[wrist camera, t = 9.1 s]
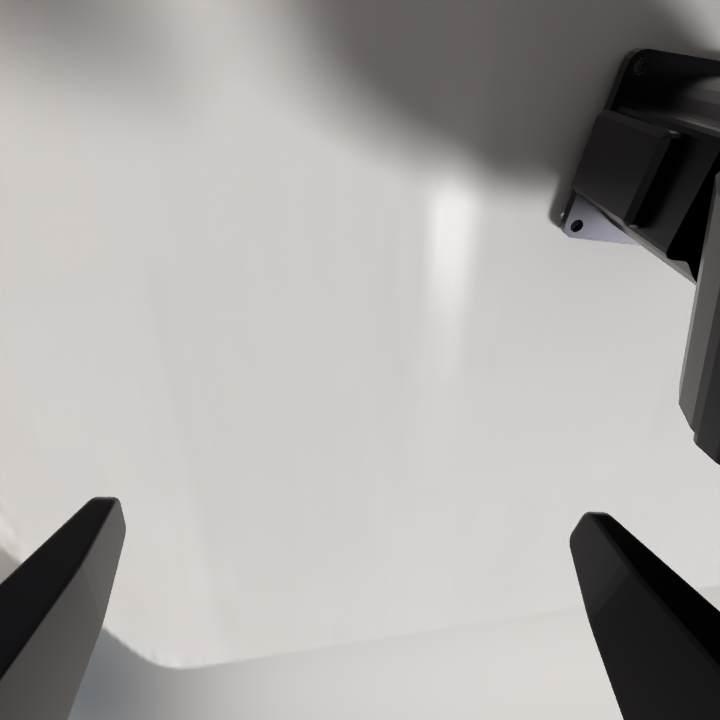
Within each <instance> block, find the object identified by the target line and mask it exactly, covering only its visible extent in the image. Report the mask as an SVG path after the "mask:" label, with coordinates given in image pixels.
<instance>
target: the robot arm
mask: <svg viewBox="0 0 720 720" xmlns="http://www.w3.org/2000/svg"><path fill="white" fill-rule="evenodd" d="M640 58H642V61H643V64H642V67H641V69H640V70H639V71H638V72H637V73H636V74H635V73H634V65H635V63H636V62H637V61H638V60H639V59H640ZM572 186H573V188H574V189H573V191H572V194H571V197H570V199H569V202H568V205H567V207H566V210H565V212H564V215H563V218H562V220H561V225H560V226H561V230H562V231H563V232H564V233H565V234H566V235H567V236H568V237H571V238H579V239H588V240H597V241H606V242H615V243H624V244H633V245H641V246H643V247H644V248H646V249H647V250H648V251H650V252H651V253H652V254H654V255H655V256H656V257H658V258H659V259H661V260H662V261H663V262H665V263H666V264H667V265H669V266H670V267H672V268H673V269H674V270H676V271H677V272H678V273H680V274H681V275H683V276H684V277H685V278H687V279H688V280H689V281H691V282H692V283H694V284H695V285H696V291H695V297H694V303H693V308H692V314H691V320H690V326H689V332H688V337H687V343H686V349H685V355H684V361H683V366H682V372H681V378H680V389H679V405H680V407H681V409H682V411H683V413H684V415H685V417H686V419H687V421H688V424H689V426H690V428H691V429H692V430H693V431H694V442H695V444H696V445H697V446H698V447H699V448H700V449H702V450H703V451H704V452H705V453H706V454H707V455H708V456H709V457H710V458H711V459H713V460H714V461H715V462H716V463H718V464H719V465H720V61H717V60H711V59H705V58H699V57H693V56H687V55H681V54H675V53H670V52H664V51H658V50H652V49H645V48H638V49H634V50H633V51H631V52H629V53H628V54H627V55H626V56H625V58H624V60H623V62H622V63H621V66H620V69H619V71H618V74H617V77H616V79H615V82H614V84H613V87H612V90H611V92H610V95H609V97H608V100H607V103H606V105H605V108H604V110H603V112H602V113H601V114H599V115H598V116H597V119H596V121H595V124H594V126H593V129H592V132H591V134H590V137H589V140H588V142H587V145H586V148H585V150H584V153H583V155H582V158H581V161H580V163H579V166H578V169H577V171H576V174H575V177H574V179H573V182H572ZM575 220H579V223H578V225H577V226H576V227H574V228H571V224H572V223H573V222H574V221H575ZM125 532H126V525H125V520H124V516H123V512H122V508H121V504H120V501H119V499H117V498H115V497H95V498H92V499H91V500H89V501H88V502H87V503H86V504H85V505H84V506H83V507H82V508H81V509H80V510H79V511H78V512H77V513H75V514H74V515H73V516H72V517H71V518H70V519H69V520H68V521H67V522H66V523H65V524H64V525H63V526H62V527H61V528H59V529H58V530H57V531H56V532H55V533H54V534H53V535H52V536H51V537H50V538H49V539H48V540H47V541H46V542H45V543H43V544H42V545H41V546H40V547H39V548H38V549H37V550H36V551H35V552H34V553H33V554H32V555H31V556H30V557H29V558H28V559H26V560H25V561H24V562H23V563H22V564H21V565H20V566H19V567H18V568H17V569H16V570H15V571H14V572H13V573H12V574H10V575H9V577H7V578H6V579H5V580H4V581H3V582H2V583H1V584H0V720H67V719H68V717H69V714H70V711H71V709H72V706H73V703H74V701H75V698H76V695H77V692H78V690H79V687H80V684H81V682H82V679H83V676H84V673H85V671H86V668H87V665H88V663H89V660H90V657H91V655H92V652H93V649H94V647H95V644H96V641H97V639H98V636H99V633H100V630H101V627H102V624H103V621H104V617H105V613H106V610H107V606H108V602H109V598H110V594H111V590H112V586H113V582H114V578H115V574H116V570H117V566H118V562H119V558H120V554H121V550H122V546H123V542H124V538H125ZM570 549H571V553H572V557H573V561H574V565H575V569H576V573H577V577H578V581H579V585H580V589H581V593H582V597H583V601H584V605H585V609H586V612H587V616H588V619H589V623H590V626H591V629H592V632H593V635H594V638H595V640H596V643H597V646H598V649H599V652H600V654H601V657H602V660H603V663H604V666H605V669H606V671H607V674H608V677H609V680H610V683H611V685H612V688H613V691H614V694H615V696H616V699H617V702H618V705H619V708H620V711H621V714H622V716H623V719H624V720H720V611H719V610H717V609H716V608H715V607H714V606H713V605H712V604H711V603H709V602H708V601H707V600H706V599H705V598H704V597H703V596H701V595H700V594H699V593H698V592H697V591H696V590H695V589H694V588H692V587H691V586H690V585H689V584H688V583H687V582H686V581H684V580H683V579H682V578H681V577H680V576H679V575H678V574H677V573H675V572H674V571H673V570H672V569H671V568H670V567H669V566H667V565H666V564H665V563H664V562H663V561H662V560H661V559H660V558H658V557H657V556H656V555H655V554H654V553H653V552H652V551H650V550H649V549H648V548H647V547H646V546H645V545H644V544H642V543H641V542H640V541H639V540H638V539H637V538H636V537H635V536H633V535H632V534H631V533H630V532H629V531H628V530H627V529H625V528H624V527H623V526H622V525H621V524H620V523H619V522H617V521H616V520H615V519H614V518H613V517H612V516H610V515H609V514H607V513H604V512H587V513H585V514H584V515H583V516H582V518H581V519H580V521H579V523H578V524H577V526H576V527H575V529H574V530H573V532H572V534H571V536H570Z"/></svg>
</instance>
